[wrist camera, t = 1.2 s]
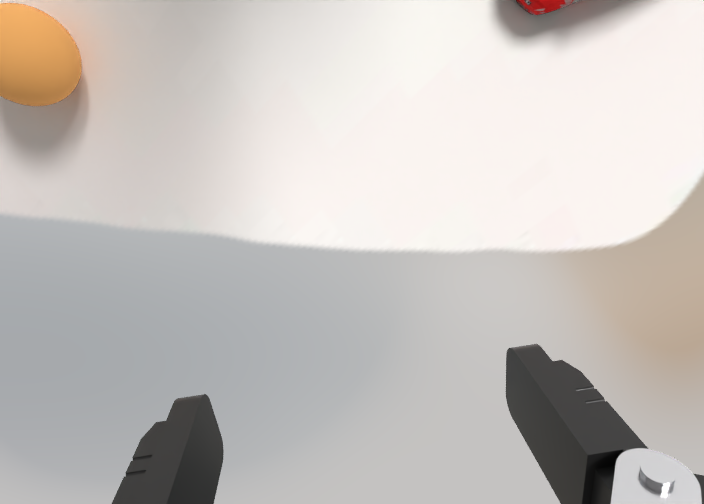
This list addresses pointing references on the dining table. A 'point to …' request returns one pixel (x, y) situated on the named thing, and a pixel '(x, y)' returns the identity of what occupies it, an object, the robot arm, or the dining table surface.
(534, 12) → the race car
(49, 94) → the ball
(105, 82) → the dining table surface
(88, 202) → the dining table surface
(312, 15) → the dining table surface
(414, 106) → the dining table surface
